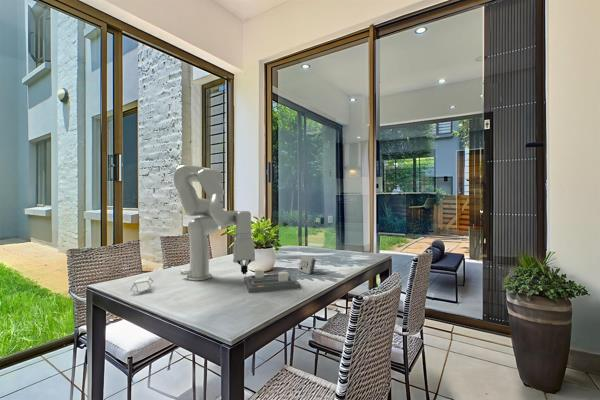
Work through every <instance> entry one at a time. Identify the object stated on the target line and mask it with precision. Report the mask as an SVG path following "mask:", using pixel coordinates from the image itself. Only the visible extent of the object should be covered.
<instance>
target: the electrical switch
mask: <svg viewBox="0 0 600 400" xmlns="http://www.w3.org/2000/svg"><path fill="white" fill-rule="evenodd" d="M316 261H317V260H316V259H314V257H313V256H307V255H302V254H301V256H300V260H299V266H298V272H300V273H303V274H307V275H310V274H313V273H314V270H315V265H316Z"/></svg>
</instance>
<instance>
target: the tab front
mask: <svg viewBox="0 0 600 400" xmlns="http://www.w3.org/2000/svg"><path fill="white" fill-rule="evenodd" d="M277 274H278V281H279V282H281V281H288V274H289V272H287V271H278V273H277Z"/></svg>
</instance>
